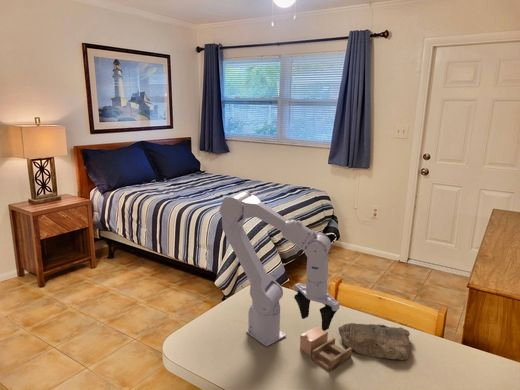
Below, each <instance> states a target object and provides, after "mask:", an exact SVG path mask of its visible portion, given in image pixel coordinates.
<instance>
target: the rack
mask: <svg viewBox="0 0 520 390" xmlns="http://www.w3.org/2000/svg"><path fill="white" fill-rule="evenodd" d="M352 351H353V350H352V348H351V347H349V348H348V347H347V348H346V349H343V348H342V347H339V346H338V345H337V344H336V338H335V337H332V338H331V339H328V340H327V342H326V343H324V344H322V345H321V346H319V347H317V348H316V349H314V350H312V355H311V360H312V361H313V362H315V363H317V364H318V365H319V366H321V367H322V368H324V369H326V370H327V371H328V372H331V371H333V370H335V369H336V368H337V367H339V366H341V364H343V363H345V362H346V361H348V360H349V359H350V358H352Z"/></svg>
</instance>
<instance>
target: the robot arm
mask: <svg viewBox="0 0 520 390" xmlns="http://www.w3.org/2000/svg"><path fill="white" fill-rule="evenodd" d="M218 212H219V214H220V216H221V225H222V226H221V227H222V228H221V229H222V231H223V233H224V235H225V237H226V239H227V241H228V242H229V245H230V246H231V248H232V250H233V252H234V254H235V256H236V258H237V260H238V261H239V264H240V266H241V267H242V270H243V272H244V273H245V276H246V277H247V279H248V281H249V284H250V286H249V287H250V288H249V296H250V297H251V300H252V301H251V305H250V307H249V309H248V317H247V318H248V325H247V327H248V329H246V331H245V332H246V334H248V335H250V336H251V337H252V338H254V339H255V340H257V341H258V342H259V343H261V344H262V345H263V346H265V347H268V346H270V345H272V344H274V343H277V341H279V340H281V339H283V338H285V337H287V335H286V333H284V332H283V331H281V329H280V328H281V306H280V305H281V304H280V300H281V299H282V298H283V295H284V289H283V287H282V286H281V284H279V283H278V282H277V281H276V279H275V278H274V276H273V275H272V274H271V275H270V274H268V273H267V272H266V270H265V268H264V266H263V264H262V261H261V260H260V258H259V256H258V254H257V252H256V251H255V248H254V246H253V245H252V242H251V240H250V239H249V237H248V235H247V232H246V231H245V229H244V223H245V220H246V219H249V218H257V219H259V220H261V221H263V222H264V223H267V224H268V225H270V226H271V227H273V228H275V229H277V230H278V231H280V232H281V235H282V237H283V239H285V240H286V241H288V242H290V243H291V244H293V245H294V246H296V247H298V248H299V249H301V250H302V251H304V254H305V256H306V258H307V261H306V278H305V284H303V283H297V284H294V292H296V294H294V300H295V301H296V304H297V306H298V308H299V312H300V316H301V319H303V320H305V319H306V318H308V317H309V315H310V304H311V301H313V302H315V303H319V304H323V305H324V306H323V307H321V308H319V313H320V317H321V328H322V330H323V331H328V330H329V329H330V326H331V324H332V323H331V322H332V321H333V318H334V316H335V314H336V312H338V310H339V309H340V303H341V302H340V301H337V300H336V299H335V298H334V297H332V295H330V294H329V293H328V292H329V290H328V276H329V275H328V274H329V251H330V249H331V247H332V243H331V239H330V238H329V236H328V235H326V234H325V233H323V232H317V231H316V230H314V231H313V230H311V229H310V228H309V227H307V226H305V225H303V221H301V220H299V219H298V220H296V219H290V220H289V219H286V218H285V217H284V216H282V215H281V214H280V213H278V212H276V211H275V210H273V209H272V208H271V207H270V206H268V205H267V204H265V203H264V202H262V201H261V200H260V199H259V197H257V196H256V195H254V194H251V193H250V192H249V191H247V190H240V191H238V192H237V193H235V194H232V195H231V196H228V197H226V198H224V200H223V201H222V202H221V205H220V207H219V210H218Z"/></svg>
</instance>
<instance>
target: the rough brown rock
mask: <svg viewBox="0 0 520 390" xmlns="http://www.w3.org/2000/svg"><path fill="white" fill-rule="evenodd" d="M338 333H339V336H340V338H341V341H342V342H343V345H344V346H345V347H347V349H348V348H349V347H351V348H352V351H354V352H355V353H357V354H360V355H364V356H367V357H370V358H371V357H373V358H374V357H376V358H379V359H383V358H384V359H388V360H399V361H405V360H407V359H408V358H409V357H410V345H411V343H410V335H411V333H410V331H409V330H407V329H405V328H403V327H395V326H394V327H393V326H392V327H391V326H387V325H385V324H381V323H380V324H379V323H378V324H374V323H373V324H372V323H369V324H368V323H355V322H354V323H353V322H351V323H345V324H343V325H341V326H338Z"/></svg>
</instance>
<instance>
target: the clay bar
mask: <svg viewBox="0 0 520 390" xmlns="http://www.w3.org/2000/svg"><path fill="white" fill-rule="evenodd" d="M328 336H329V331H328V330H325V331H323V330H322V327H320V326H318V325H316V326H314V327H313V328H311V329H308V330H307V331H305V332H304V333H302V334H300V337H299V342H300V343H299V349H300V350H302V351H303V352H305V353H306V354H308V355H309V356H311V357H312V350H314V349H316V348H317V347H319V346H321V345H322V344H324V343H326V342H327V341H328V340H329V339H328Z"/></svg>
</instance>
